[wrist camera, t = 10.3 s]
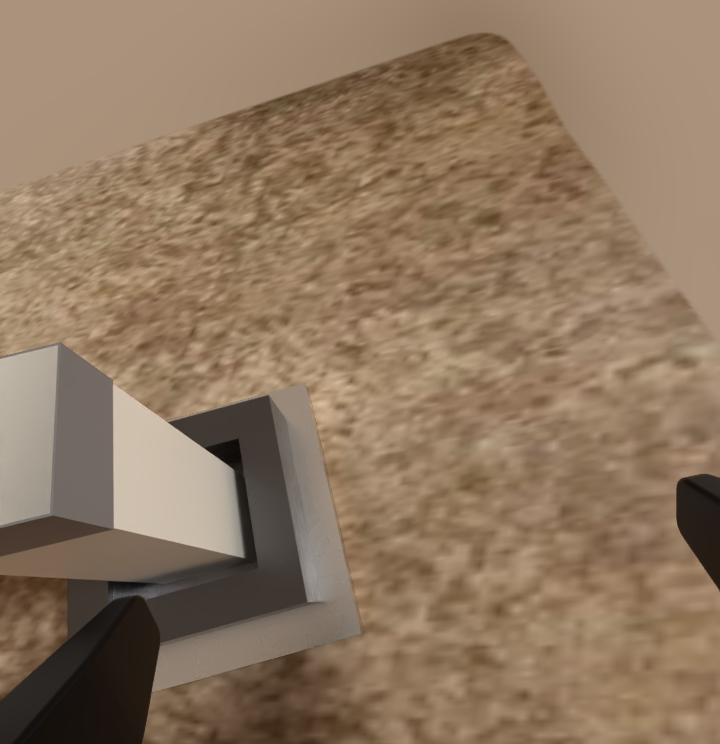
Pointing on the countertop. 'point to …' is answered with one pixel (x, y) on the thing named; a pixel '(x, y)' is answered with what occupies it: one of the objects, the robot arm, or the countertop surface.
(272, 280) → the countertop surface
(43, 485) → the plug block
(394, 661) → the countertop surface
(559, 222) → the countertop surface
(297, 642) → the socket plate
